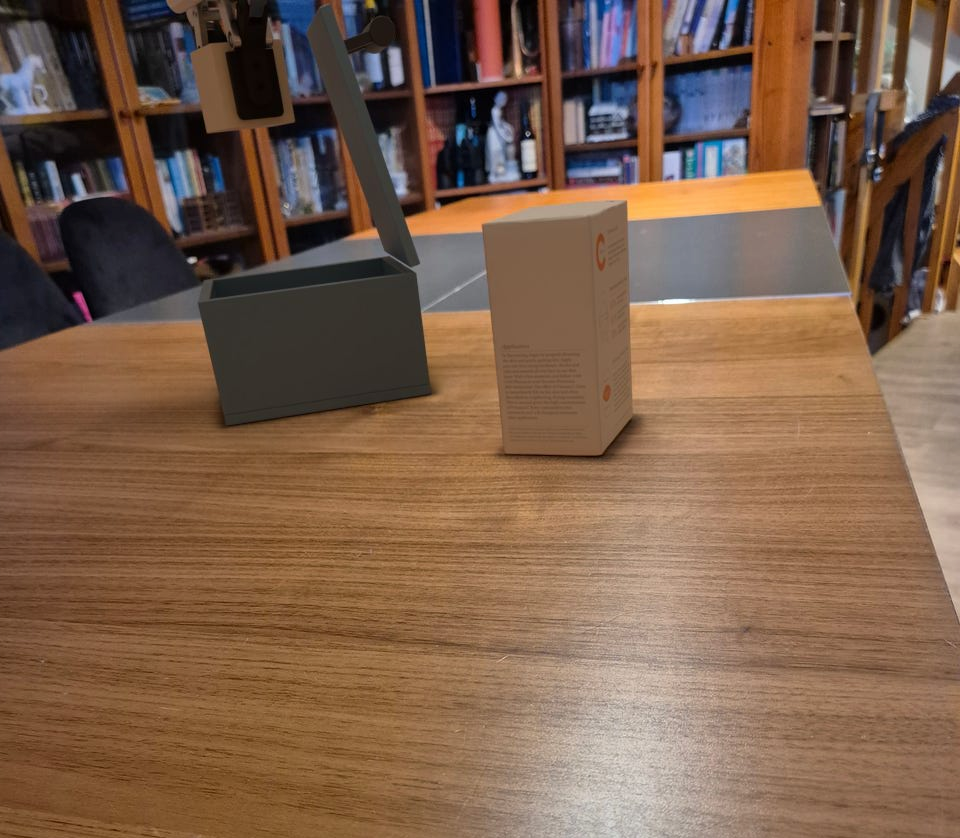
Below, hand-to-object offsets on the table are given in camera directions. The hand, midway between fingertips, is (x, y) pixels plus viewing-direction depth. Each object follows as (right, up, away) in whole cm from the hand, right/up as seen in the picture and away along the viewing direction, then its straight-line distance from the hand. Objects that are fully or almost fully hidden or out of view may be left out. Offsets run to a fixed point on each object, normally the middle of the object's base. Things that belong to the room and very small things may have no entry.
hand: (247, 118), depth 66 cm
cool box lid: (+7, -1, +2) cm, 8 cm away
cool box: (+4, -17, +10) cm, 20 cm away
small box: (+22, -25, -8) cm, 34 cm away
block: (0, -1, 0) cm, 1 cm away
